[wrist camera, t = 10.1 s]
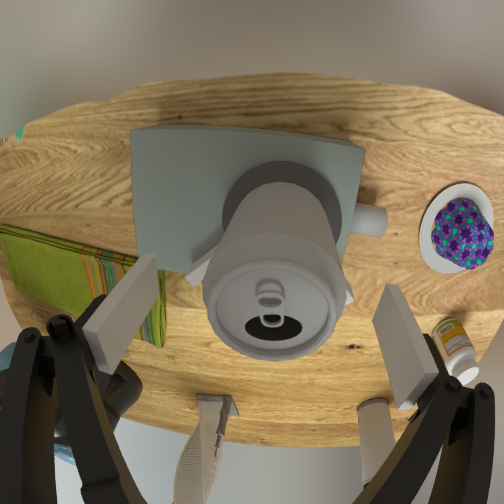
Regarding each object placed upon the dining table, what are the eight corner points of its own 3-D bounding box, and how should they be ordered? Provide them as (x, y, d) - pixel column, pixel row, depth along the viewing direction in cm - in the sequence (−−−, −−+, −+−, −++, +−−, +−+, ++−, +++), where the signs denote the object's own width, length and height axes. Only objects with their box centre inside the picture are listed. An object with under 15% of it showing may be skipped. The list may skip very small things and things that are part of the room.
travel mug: (349, 412, 47) (354, 504, 30) (369, 395, 44) (381, 494, 26) (373, 416, 47) (382, 502, 30) (394, 400, 44) (408, 491, 27)
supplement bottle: (449, 343, 36) (468, 388, 28) (425, 342, 37) (443, 390, 28) (465, 318, 34) (489, 363, 25) (441, 315, 34) (465, 363, 26)
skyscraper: (240, 417, 51) (215, 540, 27) (203, 414, 53) (170, 530, 28) (231, 395, 48) (199, 536, 23) (190, 393, 49) (148, 523, 25)
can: (241, 264, 26) (209, 369, 15) (230, 182, 22) (176, 252, 12) (326, 261, 25) (343, 370, 14) (325, 177, 21) (359, 246, 11)
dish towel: (169, 342, 43) (163, 356, 41) (21, 287, 45) (12, 296, 42) (167, 261, 36) (157, 275, 33) (4, 220, 37) (-8, 228, 35)
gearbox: (161, 241, 34) (128, 278, 27) (158, 124, 27) (115, 133, 20) (359, 267, 32) (375, 313, 25) (387, 149, 26) (420, 166, 18)
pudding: (412, 275, 32) (426, 300, 28) (419, 182, 27) (440, 197, 22) (482, 265, 30) (500, 286, 25) (495, 181, 25) (519, 195, 20)
